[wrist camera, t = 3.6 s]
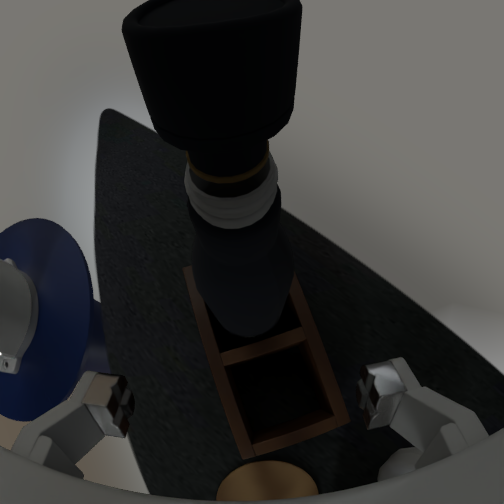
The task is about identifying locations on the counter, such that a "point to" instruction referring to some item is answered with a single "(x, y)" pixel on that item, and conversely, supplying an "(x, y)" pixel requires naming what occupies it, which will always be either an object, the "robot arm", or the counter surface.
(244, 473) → the coaster
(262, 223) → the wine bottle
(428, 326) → the counter surface
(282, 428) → the wooden compartment tray
